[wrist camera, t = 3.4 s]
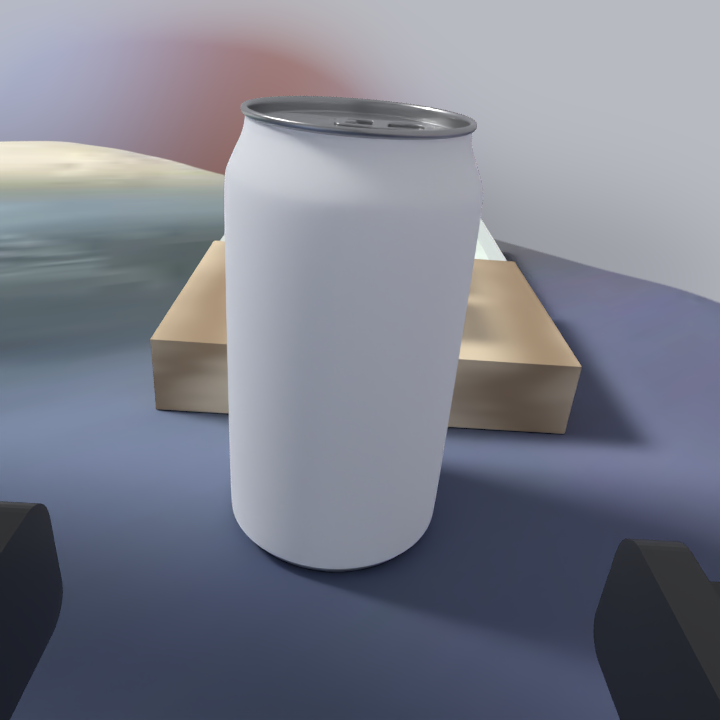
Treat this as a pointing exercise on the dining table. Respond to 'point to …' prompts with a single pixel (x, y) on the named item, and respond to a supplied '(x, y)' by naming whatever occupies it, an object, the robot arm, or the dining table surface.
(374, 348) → the can
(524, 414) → the board
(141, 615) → the dining table surface
